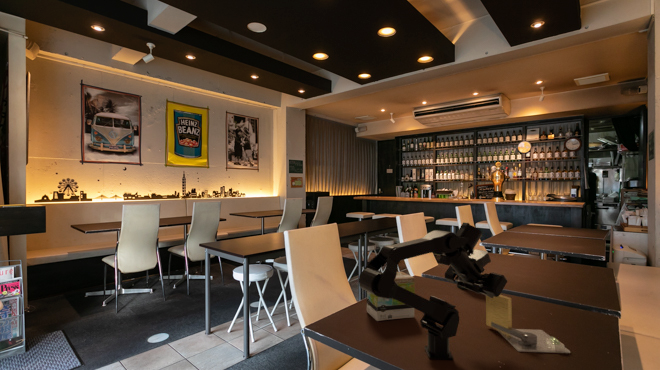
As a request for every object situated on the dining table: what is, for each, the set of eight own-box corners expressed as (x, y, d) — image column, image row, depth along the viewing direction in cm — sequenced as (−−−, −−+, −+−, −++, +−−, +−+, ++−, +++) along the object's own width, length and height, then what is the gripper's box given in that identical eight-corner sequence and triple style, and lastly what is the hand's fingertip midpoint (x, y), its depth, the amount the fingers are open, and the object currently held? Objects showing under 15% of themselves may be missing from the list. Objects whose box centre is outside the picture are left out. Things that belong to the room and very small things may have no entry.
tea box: (377, 322, 112) (377, 280, 113) (366, 312, 122) (366, 273, 122) (415, 317, 117) (415, 276, 117) (402, 308, 126) (401, 270, 127)
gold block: (540, 343, 94) (539, 305, 95) (531, 346, 93) (530, 307, 93) (491, 323, 109) (491, 290, 109) (483, 325, 107) (483, 292, 107)
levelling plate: (570, 353, 91) (570, 342, 91) (518, 351, 92) (518, 341, 92) (541, 331, 105) (541, 322, 105) (496, 330, 106) (496, 321, 106)
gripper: (502, 246, 89) (528, 281, 94) (450, 238, 106) (474, 268, 111) (483, 278, 86) (510, 313, 90) (432, 264, 102) (458, 294, 107)
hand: (487, 295), depth 100 cm, fingers open, 4 cm apart
